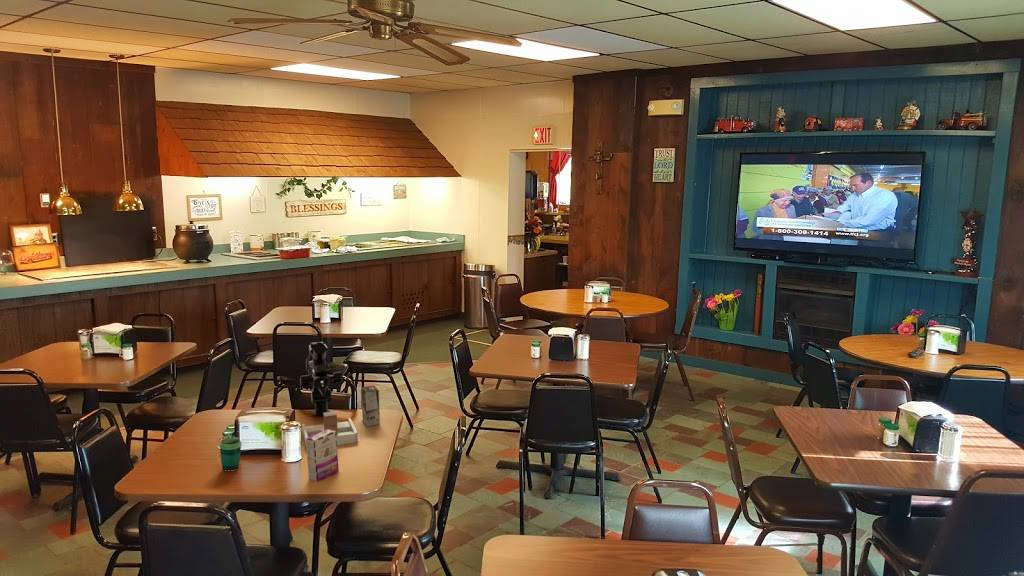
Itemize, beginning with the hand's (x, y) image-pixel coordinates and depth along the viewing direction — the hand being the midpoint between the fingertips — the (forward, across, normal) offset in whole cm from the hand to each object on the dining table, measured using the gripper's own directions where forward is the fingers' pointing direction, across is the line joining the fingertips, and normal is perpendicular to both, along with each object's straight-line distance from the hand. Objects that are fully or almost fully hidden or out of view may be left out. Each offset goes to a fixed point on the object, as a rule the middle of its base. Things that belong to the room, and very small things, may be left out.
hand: (323, 395), depth 327 cm
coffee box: (+14, +20, +6) cm, 25 cm away
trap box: (+22, 0, -3) cm, 23 cm away
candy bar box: (+51, -7, -32) cm, 61 cm away
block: (+25, 0, -9) cm, 27 cm away
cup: (+38, -39, -18) cm, 57 cm away
